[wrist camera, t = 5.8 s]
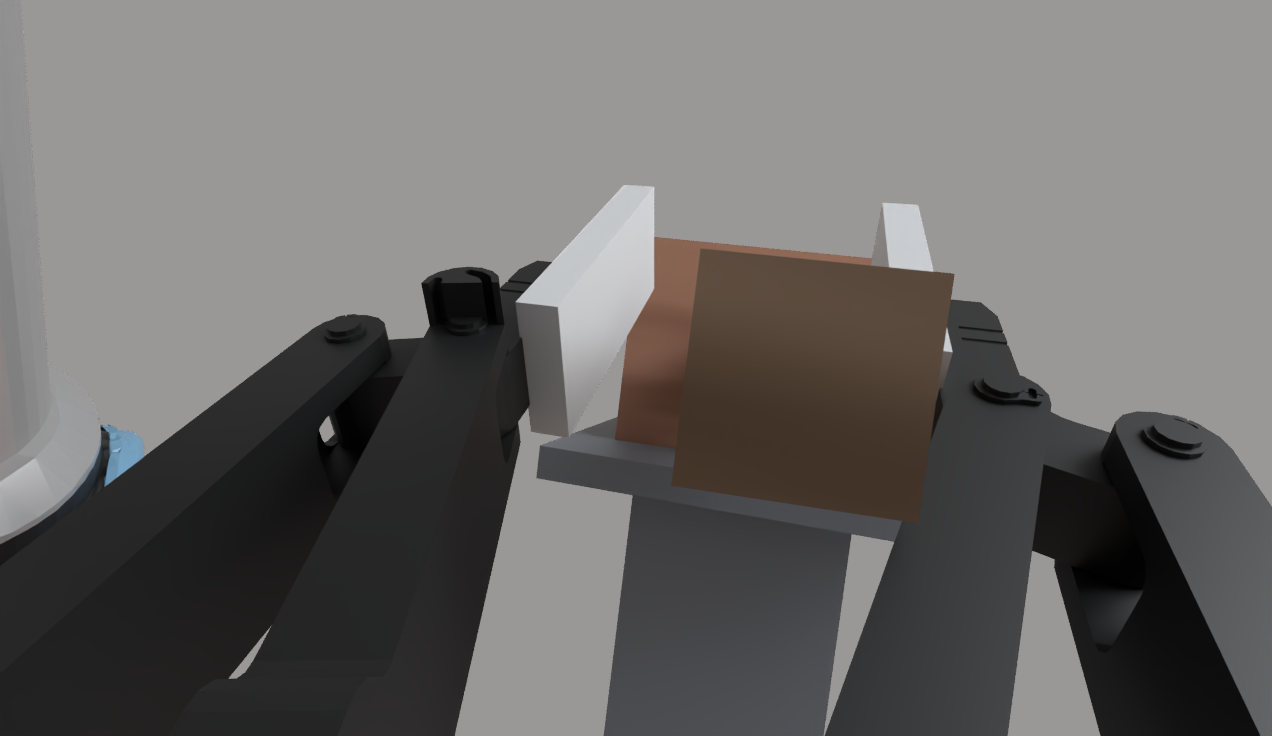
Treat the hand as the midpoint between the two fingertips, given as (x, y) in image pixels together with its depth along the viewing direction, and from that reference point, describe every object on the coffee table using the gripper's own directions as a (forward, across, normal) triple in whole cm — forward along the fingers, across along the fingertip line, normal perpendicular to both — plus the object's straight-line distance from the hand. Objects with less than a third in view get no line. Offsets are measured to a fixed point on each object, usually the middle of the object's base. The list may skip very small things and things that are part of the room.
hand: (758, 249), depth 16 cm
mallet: (-2, 0, -6) cm, 6 cm away
